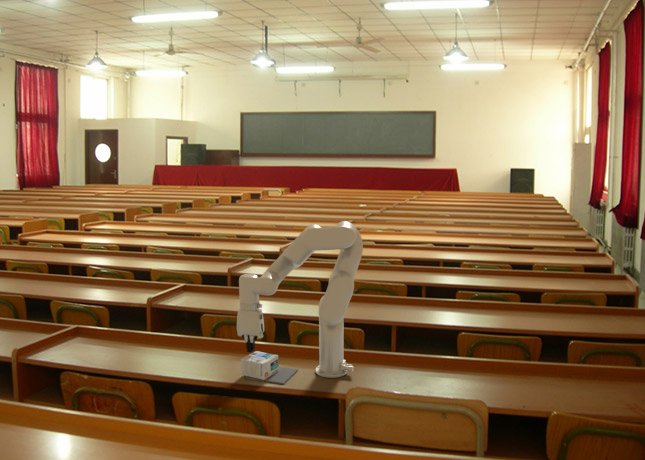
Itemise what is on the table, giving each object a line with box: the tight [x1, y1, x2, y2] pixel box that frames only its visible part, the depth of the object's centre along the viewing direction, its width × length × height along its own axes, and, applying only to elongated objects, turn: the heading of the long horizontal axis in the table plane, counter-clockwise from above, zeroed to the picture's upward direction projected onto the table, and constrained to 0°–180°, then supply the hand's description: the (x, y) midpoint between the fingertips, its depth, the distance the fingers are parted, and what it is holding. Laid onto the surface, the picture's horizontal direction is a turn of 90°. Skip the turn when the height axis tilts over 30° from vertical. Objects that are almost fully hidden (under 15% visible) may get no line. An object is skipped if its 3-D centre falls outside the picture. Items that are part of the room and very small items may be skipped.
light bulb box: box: [240, 350, 280, 380], centre depth 241 cm, size 11×7×11 cm
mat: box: [245, 366, 299, 385], centre depth 242 cm, size 16×14×1 cm
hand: (250, 351), depth 243 cm, fingers closed
